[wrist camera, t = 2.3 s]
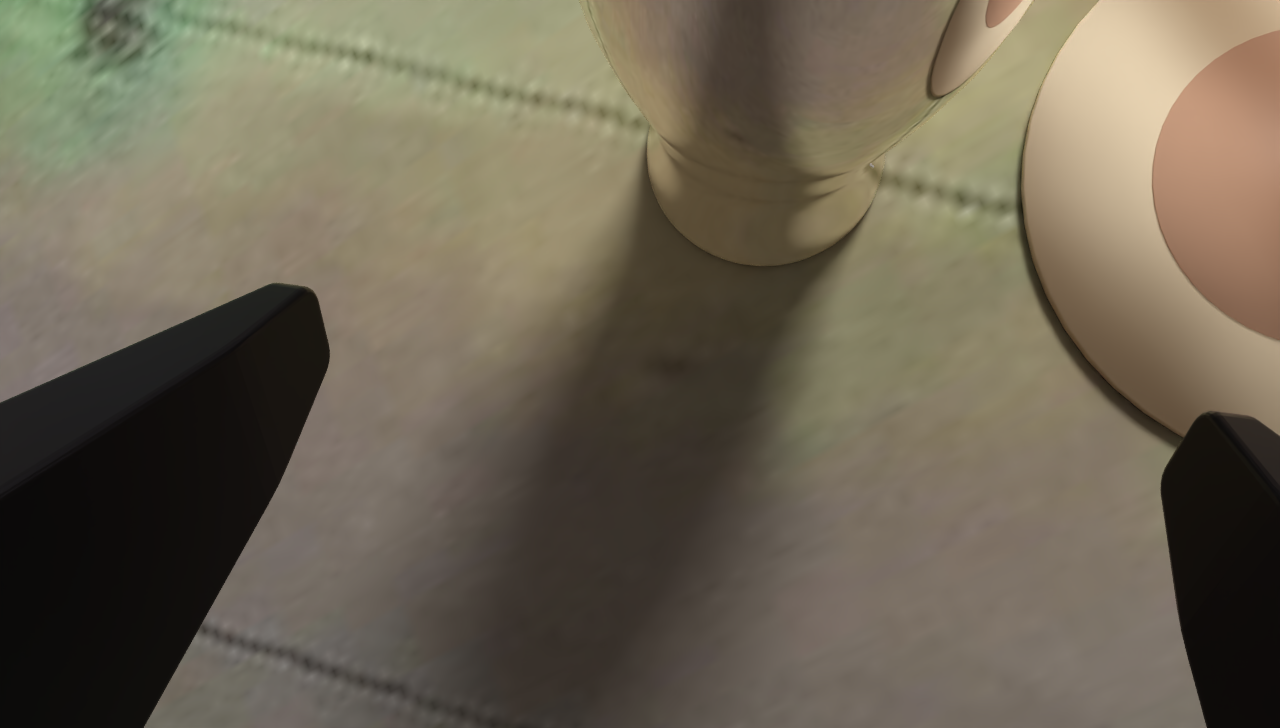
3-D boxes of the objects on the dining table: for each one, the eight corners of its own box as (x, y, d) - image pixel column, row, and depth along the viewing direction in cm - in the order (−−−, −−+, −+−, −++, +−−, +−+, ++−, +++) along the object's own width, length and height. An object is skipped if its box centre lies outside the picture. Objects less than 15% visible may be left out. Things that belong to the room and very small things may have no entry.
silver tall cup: (655, 307, 22) (530, 7, 7) (610, 54, 23) (417, -673, 8) (926, 256, 22) (1378, -174, 7) (871, 0, 23) (1165, -874, 8)
